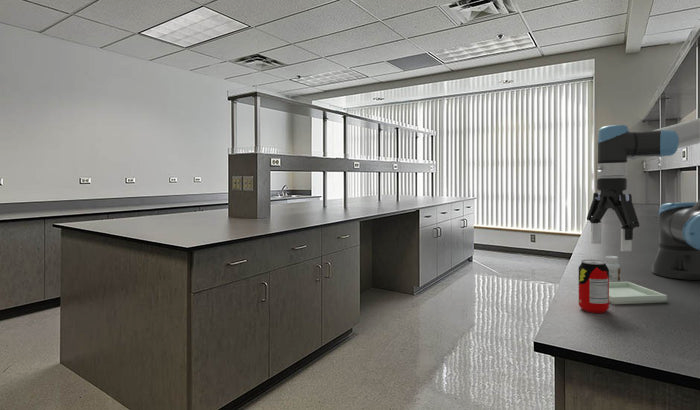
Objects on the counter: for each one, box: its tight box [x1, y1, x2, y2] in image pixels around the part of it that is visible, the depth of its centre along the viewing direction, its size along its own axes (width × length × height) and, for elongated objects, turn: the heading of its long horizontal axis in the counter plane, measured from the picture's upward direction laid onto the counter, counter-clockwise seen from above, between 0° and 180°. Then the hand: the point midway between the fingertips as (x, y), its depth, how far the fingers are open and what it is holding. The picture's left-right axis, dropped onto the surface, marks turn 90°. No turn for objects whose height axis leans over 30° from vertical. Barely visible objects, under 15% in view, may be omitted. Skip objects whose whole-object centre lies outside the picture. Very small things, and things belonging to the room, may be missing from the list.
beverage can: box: [578, 259, 610, 314], centre depth 97 cm, size 6×6×12 cm
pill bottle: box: [604, 255, 621, 282], centre depth 122 cm, size 4×4×8 cm
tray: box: [609, 281, 668, 305], centre depth 108 cm, size 14×14×2 cm
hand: (610, 247), depth 122 cm, fingers open, 13 cm apart
